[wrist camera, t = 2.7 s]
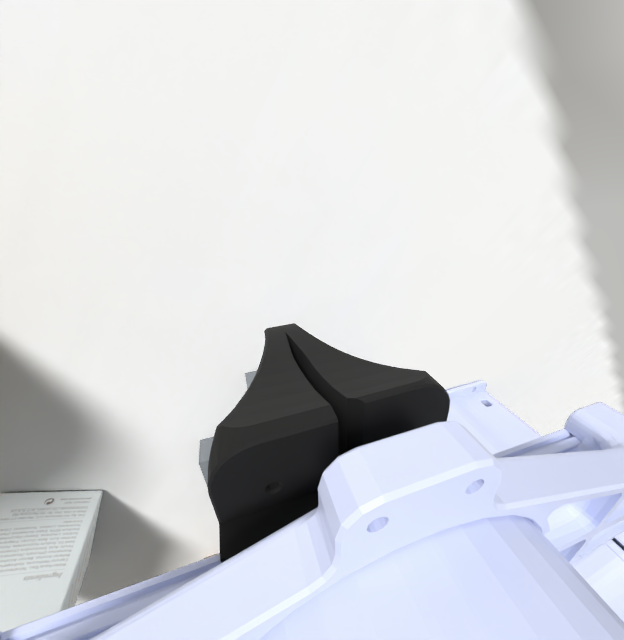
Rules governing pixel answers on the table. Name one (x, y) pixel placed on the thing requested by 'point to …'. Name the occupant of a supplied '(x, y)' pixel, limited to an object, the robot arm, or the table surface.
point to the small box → (43, 552)
